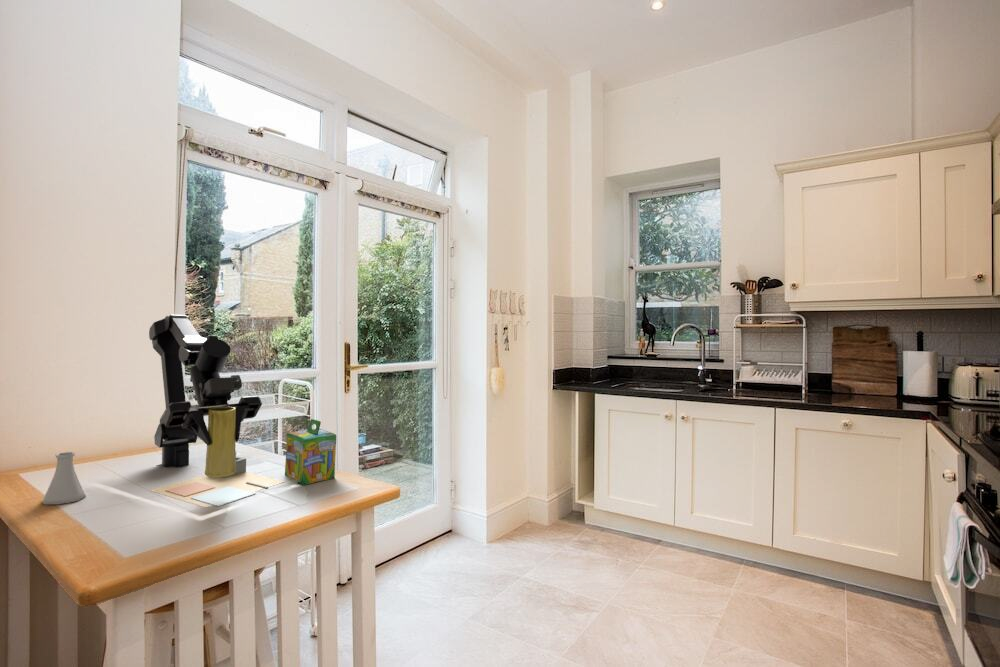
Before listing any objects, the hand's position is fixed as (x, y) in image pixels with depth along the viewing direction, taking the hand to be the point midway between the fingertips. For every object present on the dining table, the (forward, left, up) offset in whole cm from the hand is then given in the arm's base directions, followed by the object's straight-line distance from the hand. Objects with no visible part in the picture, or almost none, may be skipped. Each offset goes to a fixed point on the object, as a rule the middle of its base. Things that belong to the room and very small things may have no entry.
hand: (223, 442), depth 111 cm
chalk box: (+3, +22, -13) cm, 26 cm away
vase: (-1, 0, -7) cm, 7 cm away
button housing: (-15, +12, -12) cm, 23 cm away
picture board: (-8, +5, -13) cm, 16 cm away
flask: (-29, -16, -13) cm, 36 cm away
